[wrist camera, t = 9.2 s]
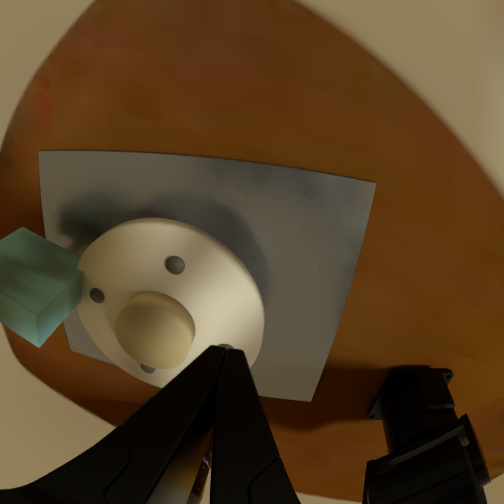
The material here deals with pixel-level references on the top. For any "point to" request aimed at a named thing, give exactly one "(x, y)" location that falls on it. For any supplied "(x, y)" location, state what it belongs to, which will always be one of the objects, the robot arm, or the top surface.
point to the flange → (135, 294)
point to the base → (227, 238)
